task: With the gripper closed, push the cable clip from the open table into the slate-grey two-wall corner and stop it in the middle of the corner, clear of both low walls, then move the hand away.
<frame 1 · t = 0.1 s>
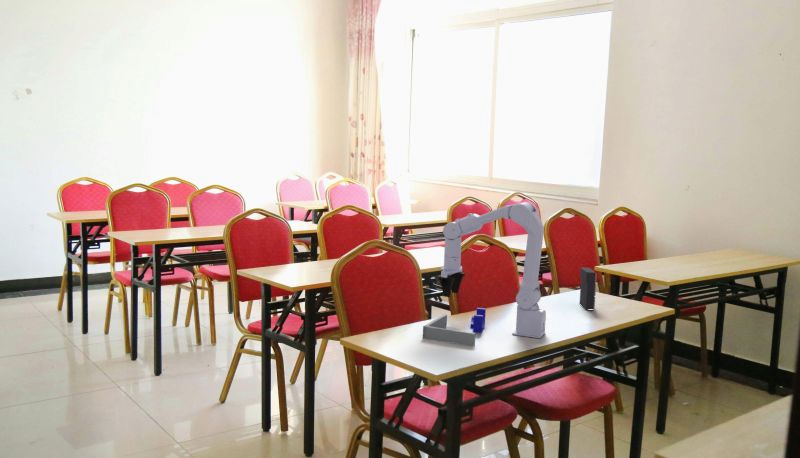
hand: (450, 294, 256), 10 cm above the table, tool pointing down, fingers open, 7 cm apart
dark grey rectangular block: (586, 307, 289), on the table
corner bracket: (457, 335, 241), on the table
cable clip: (476, 329, 251), on the table
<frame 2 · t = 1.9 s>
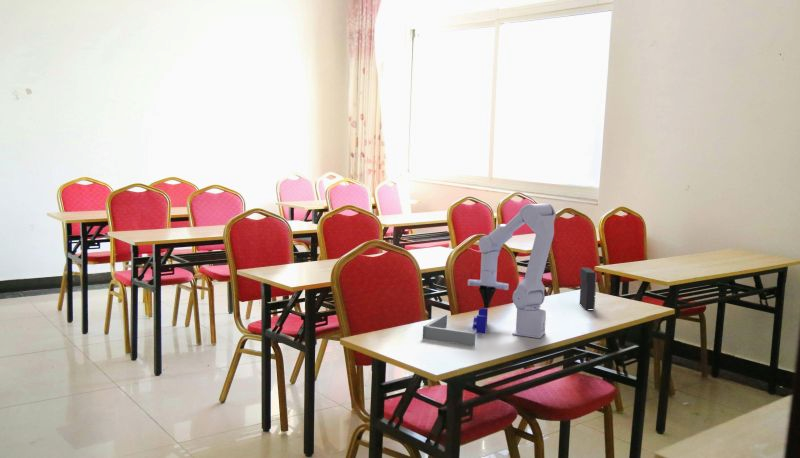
hand: (486, 307, 261), 5 cm above the table, tool pointing down, fingers closed
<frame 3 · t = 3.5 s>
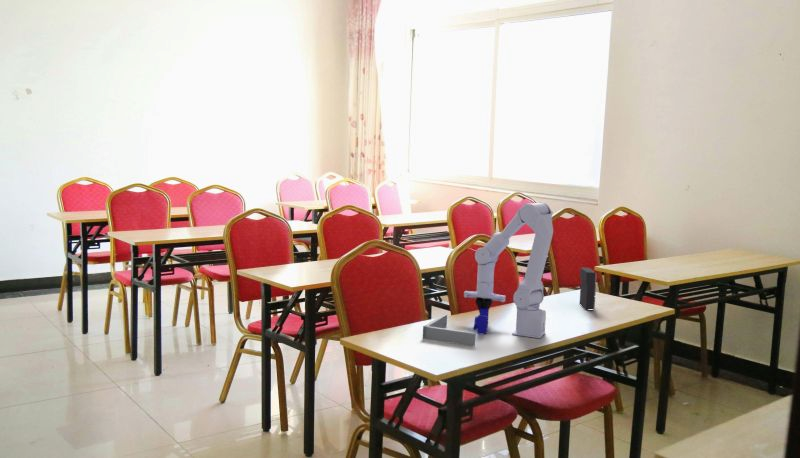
hand: (483, 319, 258), 1 cm above the table, tool pointing down, fingers closed
cable clip: (480, 329, 250), on the table, touching gripper
everything else where it was.
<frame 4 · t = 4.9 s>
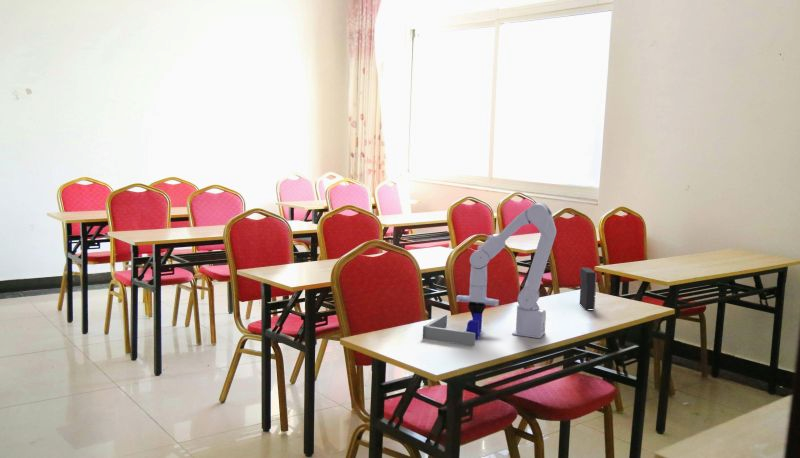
hand: (476, 324, 250), 1 cm above the table, tool pointing down, fingers closed
cable clip: (472, 335, 243), on the table, touching gripper
everything else where it was.
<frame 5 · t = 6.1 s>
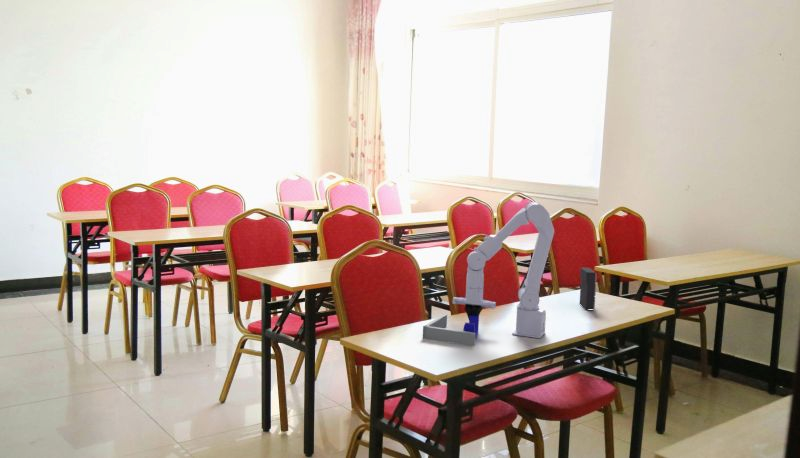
hand: (472, 326, 247), 1 cm above the table, tool pointing down, fingers closed
cable clip: (468, 337, 239), on the table, touching gripper
everything else where it was.
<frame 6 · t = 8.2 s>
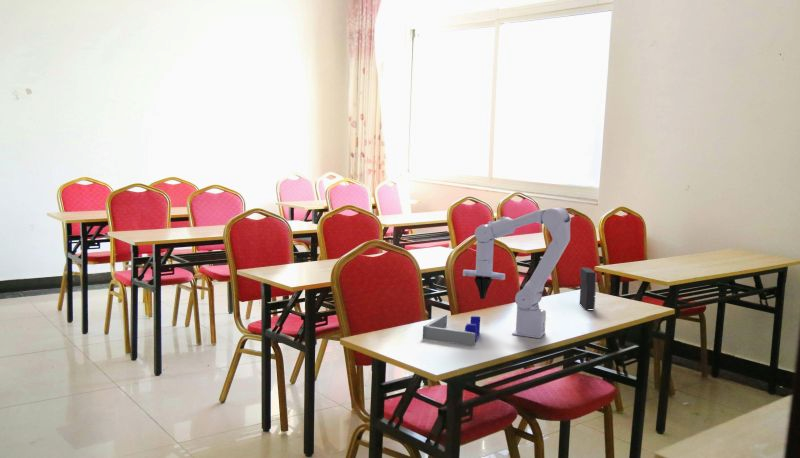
hand: (482, 298, 253), 10 cm above the table, tool pointing down, fingers closed
cable clip: (470, 338, 239), on the table
everything else where it was.
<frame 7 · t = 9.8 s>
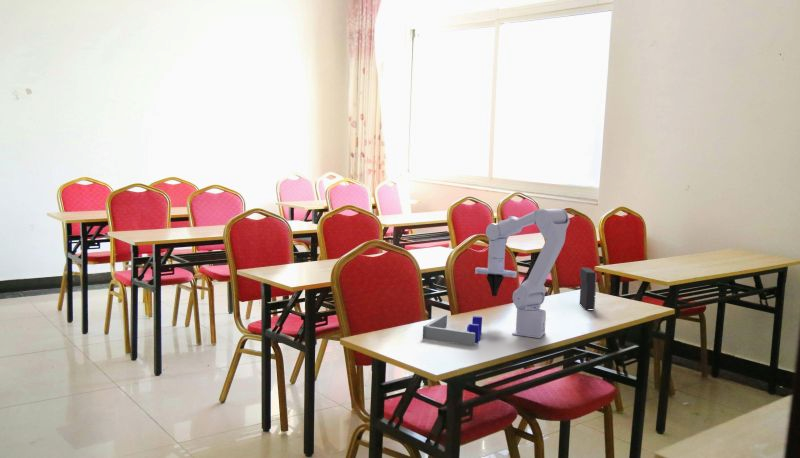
hand: (494, 295, 257), 10 cm above the table, tool pointing down, fingers closed
nothing on the table moved.
at the end: cable clip inside the target area on the corner bracket (4.7 cm from its centre), point 0.0 cm above the corner bracket's base; cable clip touching table; cable clip tilted 0° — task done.
